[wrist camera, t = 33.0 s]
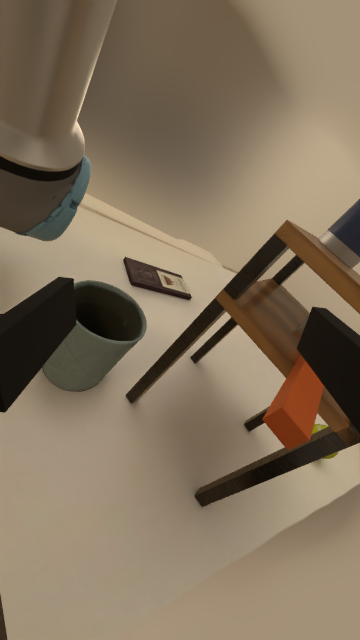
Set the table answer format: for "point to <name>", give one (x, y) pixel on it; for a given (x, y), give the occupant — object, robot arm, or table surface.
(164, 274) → the chocolate bar
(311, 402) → the spatula
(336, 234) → the tin can
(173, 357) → the side table
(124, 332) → the green cup
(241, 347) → the table surface
